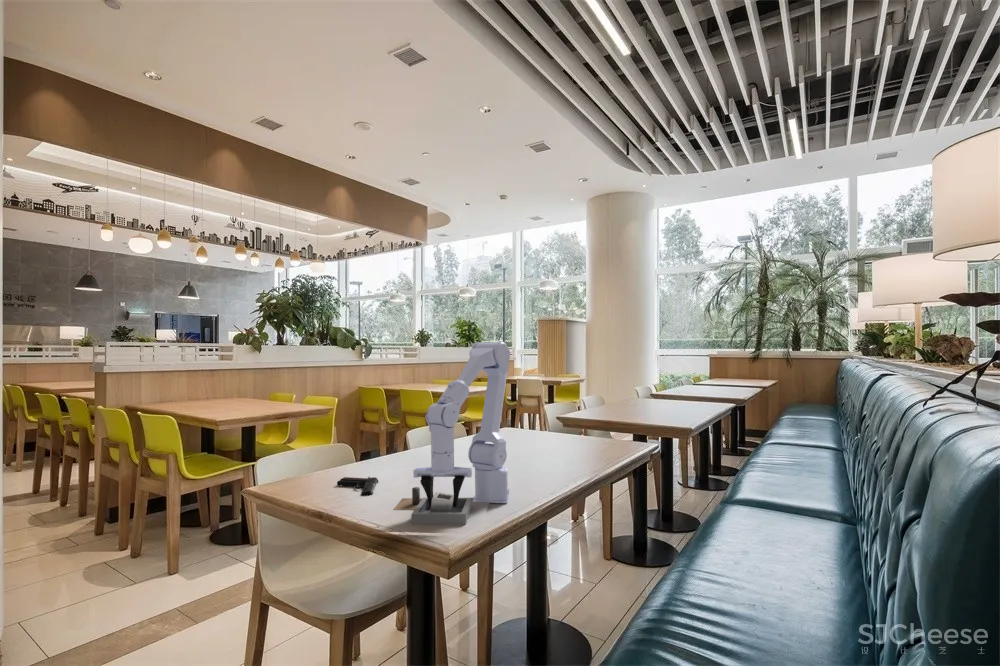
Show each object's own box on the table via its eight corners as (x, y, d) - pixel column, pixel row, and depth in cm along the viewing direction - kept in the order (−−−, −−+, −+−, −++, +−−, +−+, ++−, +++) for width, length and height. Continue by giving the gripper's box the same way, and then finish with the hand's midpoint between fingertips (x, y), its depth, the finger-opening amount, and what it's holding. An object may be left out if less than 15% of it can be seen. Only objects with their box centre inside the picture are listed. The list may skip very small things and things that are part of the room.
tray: (472, 509, 130) (472, 497, 130) (465, 526, 117) (465, 514, 117) (423, 509, 131) (423, 497, 131) (411, 526, 118) (411, 514, 118)
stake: (437, 500, 138) (437, 483, 138) (430, 512, 128) (430, 493, 128) (402, 500, 139) (402, 483, 139) (392, 512, 129) (392, 493, 129)
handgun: (327, 492, 141) (372, 490, 143) (339, 476, 159) (379, 474, 160) (327, 501, 141) (372, 498, 142) (339, 484, 159) (379, 482, 160)
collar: (453, 509, 127) (455, 495, 127) (450, 516, 121) (452, 501, 122) (434, 505, 127) (436, 491, 127) (429, 512, 122) (432, 498, 122)
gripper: (410, 454, 121) (410, 510, 121) (469, 454, 120) (470, 511, 120) (416, 449, 128) (417, 502, 128) (472, 448, 127) (473, 502, 127)
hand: (443, 505), depth 124 cm, fingers closed on collar, 5 cm apart
